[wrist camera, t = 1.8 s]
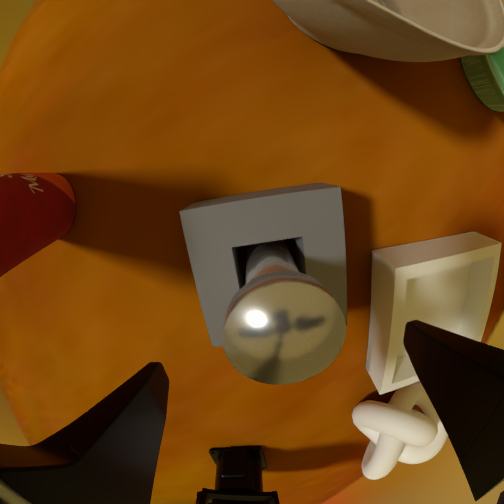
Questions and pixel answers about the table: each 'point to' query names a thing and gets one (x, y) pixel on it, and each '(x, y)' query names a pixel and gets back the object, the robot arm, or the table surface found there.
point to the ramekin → (486, 77)
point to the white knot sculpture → (399, 430)
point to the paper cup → (32, 214)
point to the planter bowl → (402, 27)
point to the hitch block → (264, 230)
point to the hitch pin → (281, 320)
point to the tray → (427, 297)
